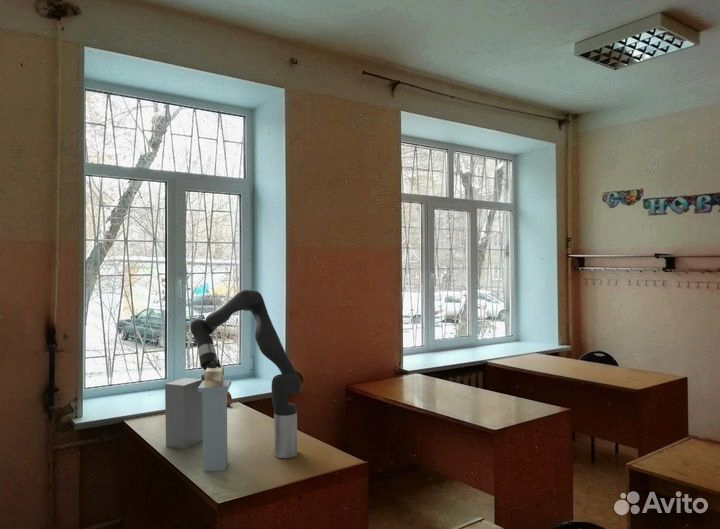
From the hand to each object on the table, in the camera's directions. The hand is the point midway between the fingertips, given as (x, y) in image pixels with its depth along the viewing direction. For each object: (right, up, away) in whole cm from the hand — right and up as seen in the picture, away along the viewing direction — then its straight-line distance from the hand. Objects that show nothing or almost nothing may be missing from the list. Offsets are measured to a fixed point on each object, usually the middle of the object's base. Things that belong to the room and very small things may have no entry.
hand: (213, 387), depth 228 cm
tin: (-13, -24, +63) cm, 69 cm away
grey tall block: (-14, -25, +3) cm, 28 cm away
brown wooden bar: (+6, +7, -17) cm, 19 cm away
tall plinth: (+7, -25, -22) cm, 34 cm away
